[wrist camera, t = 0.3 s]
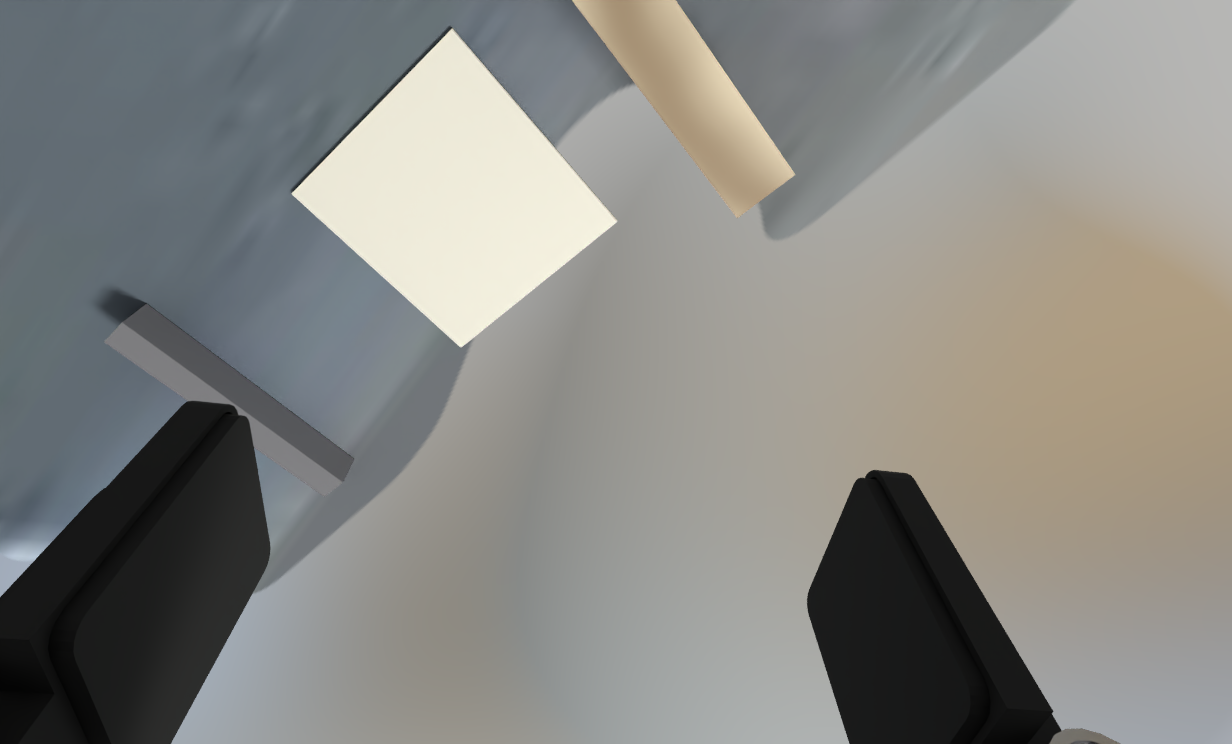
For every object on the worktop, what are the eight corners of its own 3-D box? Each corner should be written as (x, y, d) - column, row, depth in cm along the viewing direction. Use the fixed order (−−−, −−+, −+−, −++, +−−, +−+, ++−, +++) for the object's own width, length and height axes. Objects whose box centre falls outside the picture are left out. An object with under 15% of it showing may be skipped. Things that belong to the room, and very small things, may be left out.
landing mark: (452, 28, 34) (452, 28, 34) (617, 220, 40) (617, 221, 39) (292, 192, 38) (291, 193, 38) (461, 346, 44) (460, 347, 44)
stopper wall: (146, 303, 42) (122, 322, 40) (354, 459, 48) (342, 482, 46) (129, 322, 42) (104, 341, 40) (336, 473, 49) (324, 496, 47)
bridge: (577, -127, 31) (570, -154, 23) (754, 127, 37) (795, 174, 29) (529, -77, 32) (506, -87, 24) (709, 163, 38) (737, 218, 30)
